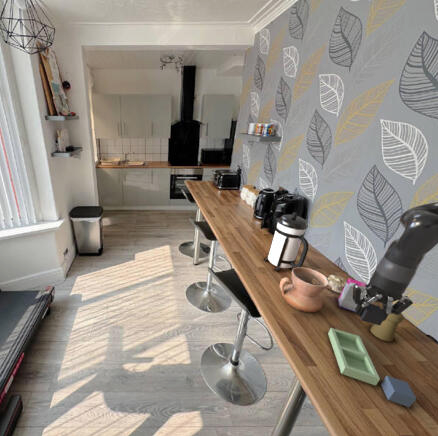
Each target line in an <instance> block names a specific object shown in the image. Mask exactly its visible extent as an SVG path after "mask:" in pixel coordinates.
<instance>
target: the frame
mask: <svg viewBox="0 0 438 436" xmlns="http://www.w3.org/2000/svg"><path fill="white" fill-rule="evenodd" d="M327 335H328V338H329V341H330V344H331V346H332V349H333V352H334V356H335V359H336V362H337V364H338V367H339V371H340V374H341V375H344V376H347V377H349V378H352V379H355V380H358V381H361V382H363V383H367V384H370V385H373V386H377V385H378V383H379V381H380V380H381V378H380V376H379V374H378V371H377V370H376V367H375V365H374V363H373V361H372V359H371V357H370V355H369V352H368V351H367V348H366V346H365V345H364V344H365V343H364V342H363V340H362V337H361V336H360V335H358V334H353V333H350V332H347V331H344V330H340V329H337V328H334V327H330V329H329V330H328V333H327Z"/></svg>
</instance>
